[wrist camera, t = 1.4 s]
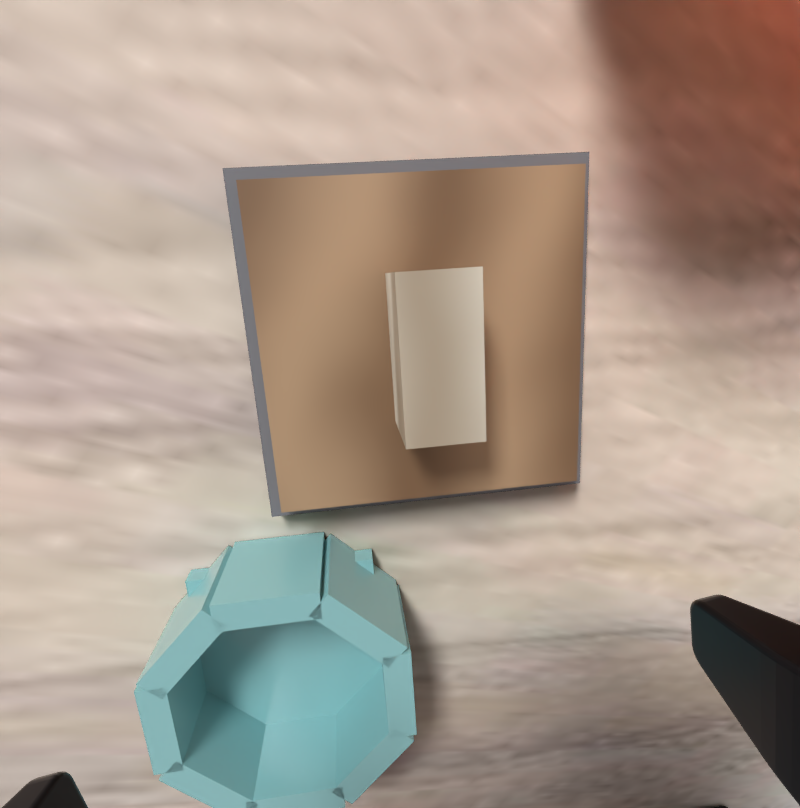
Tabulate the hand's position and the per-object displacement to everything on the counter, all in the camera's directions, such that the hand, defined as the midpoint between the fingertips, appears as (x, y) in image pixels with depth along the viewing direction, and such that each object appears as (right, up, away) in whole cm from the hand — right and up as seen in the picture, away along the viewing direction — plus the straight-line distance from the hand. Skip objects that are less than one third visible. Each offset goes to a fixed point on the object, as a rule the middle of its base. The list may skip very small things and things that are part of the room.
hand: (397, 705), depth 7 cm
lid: (+1, +6, +11) cm, 12 cm away
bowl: (-4, -6, +14) cm, 16 cm away
